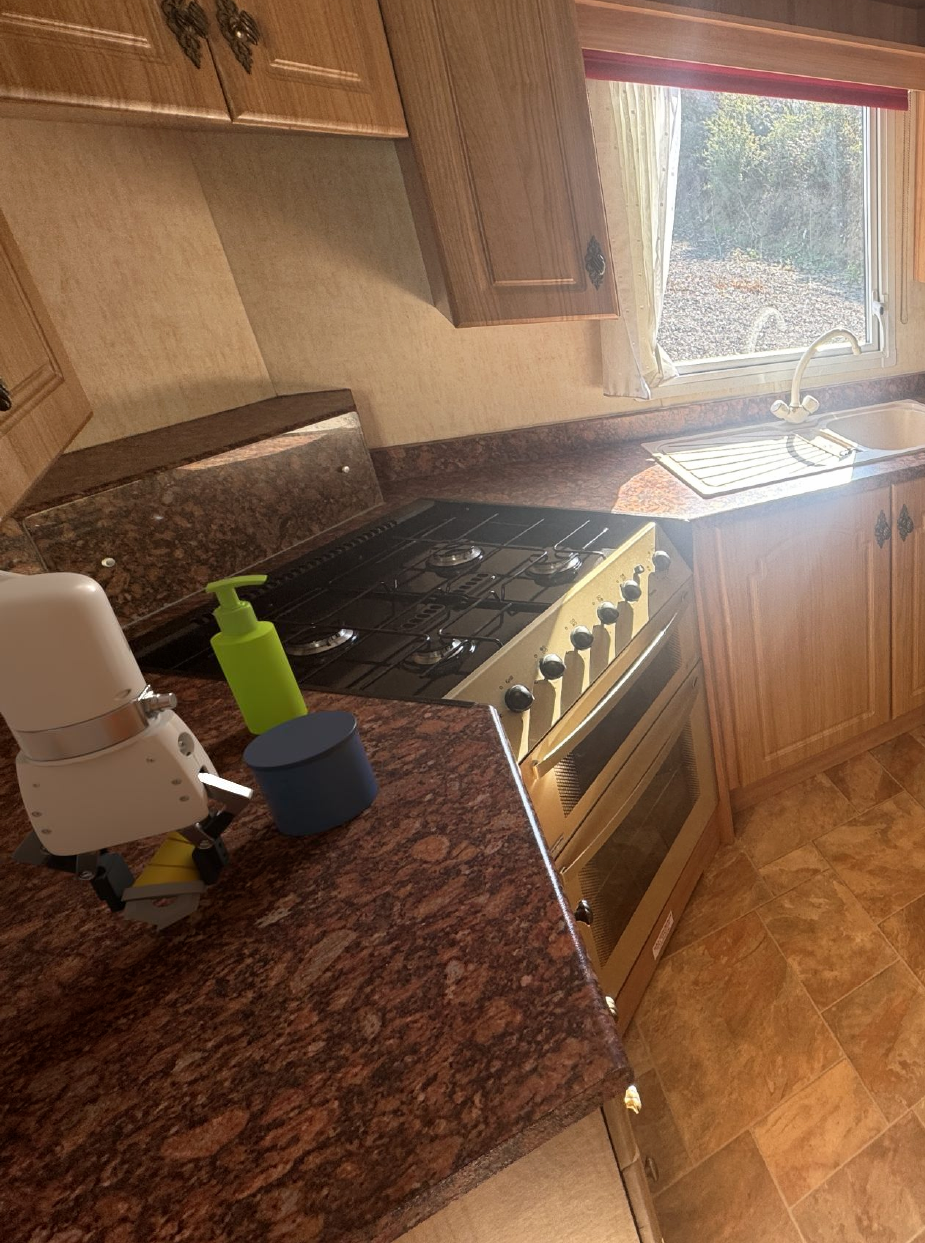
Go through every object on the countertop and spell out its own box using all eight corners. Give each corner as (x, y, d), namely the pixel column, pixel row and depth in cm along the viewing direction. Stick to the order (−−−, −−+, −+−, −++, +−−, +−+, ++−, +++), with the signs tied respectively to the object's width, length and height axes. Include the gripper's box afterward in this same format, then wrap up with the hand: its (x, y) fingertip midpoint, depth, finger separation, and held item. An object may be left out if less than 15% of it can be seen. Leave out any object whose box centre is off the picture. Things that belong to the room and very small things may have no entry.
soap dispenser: (316, 721, 95) (261, 583, 87) (245, 740, 92) (182, 598, 84) (319, 699, 100) (267, 565, 92) (252, 716, 96) (193, 579, 88)
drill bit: (110, 938, 64) (143, 817, 68) (195, 928, 68) (222, 813, 72) (111, 936, 61) (146, 809, 65) (200, 925, 65) (228, 806, 68)
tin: (263, 850, 76) (230, 778, 72) (285, 793, 83) (256, 725, 80) (374, 817, 80) (348, 748, 76) (385, 766, 87) (362, 701, 84)
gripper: (240, 673, 67) (301, 827, 74) (-40, 725, 59) (57, 891, 66) (215, 718, 60) (283, 881, 68) (-101, 783, 53) (13, 959, 60)
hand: (171, 885), depth 67 cm, fingers closed on drill bit, 5 cm apart
